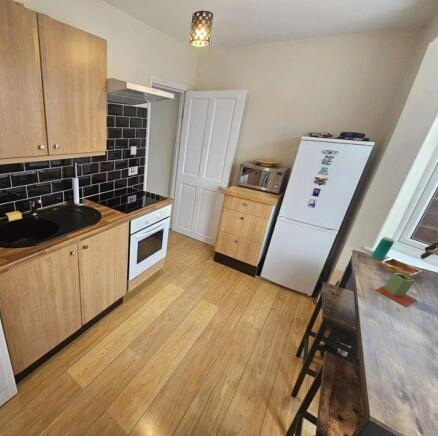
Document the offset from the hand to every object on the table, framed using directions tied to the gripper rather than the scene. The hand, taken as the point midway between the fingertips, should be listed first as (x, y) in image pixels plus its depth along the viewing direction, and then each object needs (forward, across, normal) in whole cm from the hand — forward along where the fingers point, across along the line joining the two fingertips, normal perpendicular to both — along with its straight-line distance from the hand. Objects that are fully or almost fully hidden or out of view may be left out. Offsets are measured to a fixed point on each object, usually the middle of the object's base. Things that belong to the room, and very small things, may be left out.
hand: (431, 262), depth 113 cm
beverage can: (+4, -30, +22) cm, 37 cm away
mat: (+22, +3, +5) cm, 22 cm away
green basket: (+21, +1, +5) cm, 22 cm away
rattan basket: (+4, -18, +23) cm, 29 cm away
